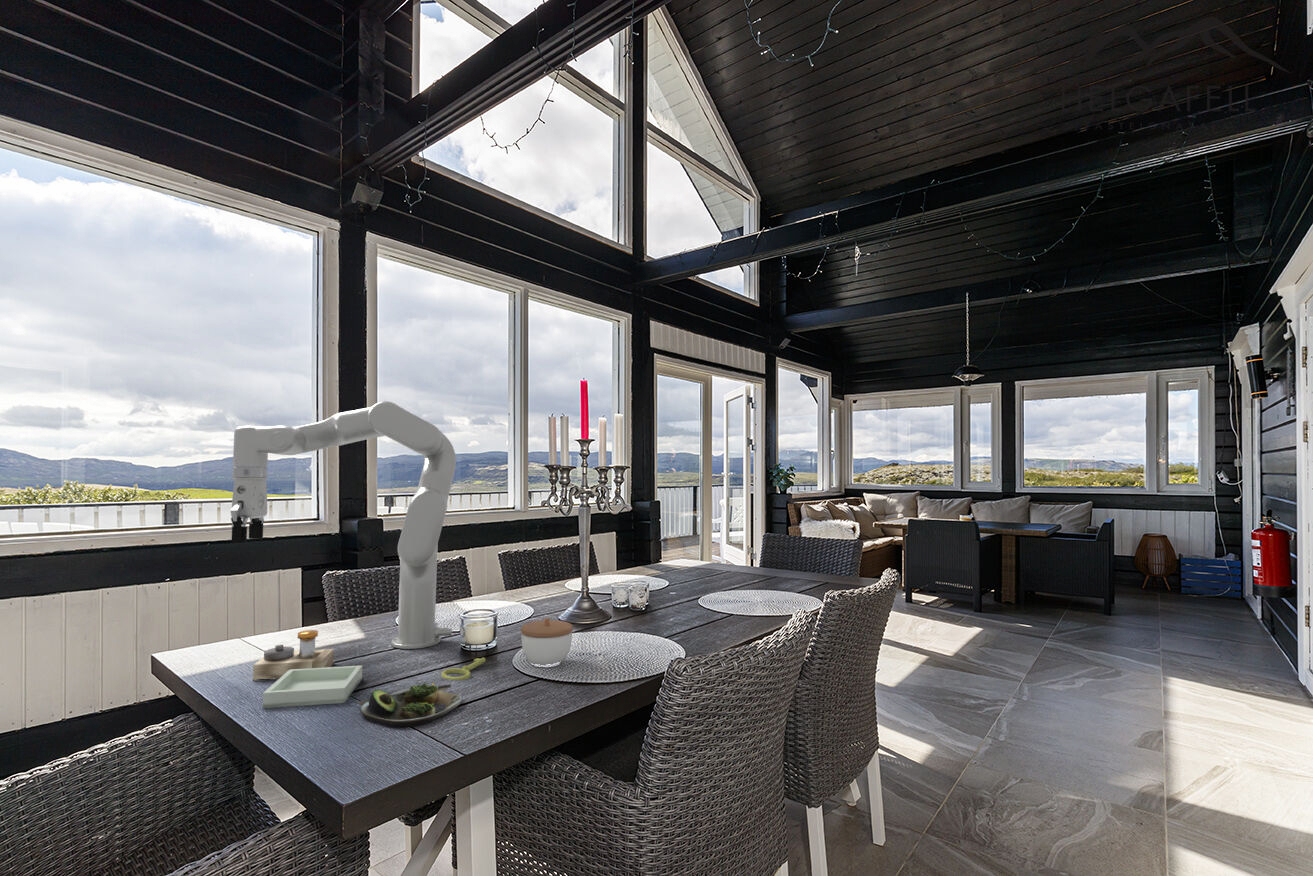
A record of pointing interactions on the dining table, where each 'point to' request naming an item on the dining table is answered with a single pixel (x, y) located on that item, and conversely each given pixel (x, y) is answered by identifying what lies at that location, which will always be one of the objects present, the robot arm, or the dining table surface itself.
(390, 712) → the salad plate
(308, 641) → the white jar gold lid
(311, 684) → the tray
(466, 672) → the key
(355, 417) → the robot arm
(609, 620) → the dining table surface
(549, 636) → the lidded bowl
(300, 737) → the dining table surface
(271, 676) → the wooden holder
